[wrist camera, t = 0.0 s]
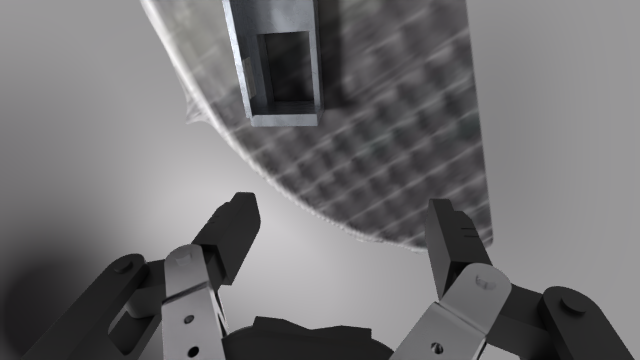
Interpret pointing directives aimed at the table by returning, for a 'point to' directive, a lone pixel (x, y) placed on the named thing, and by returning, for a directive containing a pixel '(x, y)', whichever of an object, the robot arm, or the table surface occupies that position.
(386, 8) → the table surface
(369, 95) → the table surface
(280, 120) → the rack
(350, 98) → the table surface
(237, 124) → the table surface
